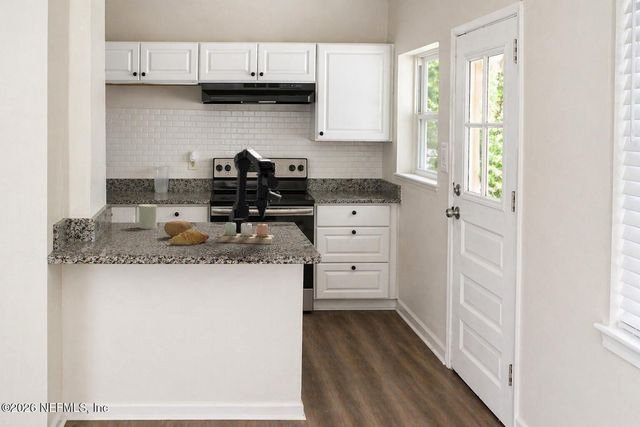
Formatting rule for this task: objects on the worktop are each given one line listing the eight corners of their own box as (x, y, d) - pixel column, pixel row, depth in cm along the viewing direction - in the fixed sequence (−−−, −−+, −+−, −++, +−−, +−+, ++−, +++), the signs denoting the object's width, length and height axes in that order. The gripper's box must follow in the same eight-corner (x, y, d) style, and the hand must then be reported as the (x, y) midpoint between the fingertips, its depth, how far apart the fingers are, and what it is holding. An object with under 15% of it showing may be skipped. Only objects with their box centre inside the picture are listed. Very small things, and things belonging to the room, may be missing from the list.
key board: (217, 241, 376) (218, 236, 375) (221, 238, 387) (222, 233, 386) (271, 243, 375) (271, 238, 374) (273, 240, 385) (273, 235, 385)
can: (160, 227, 413) (161, 204, 412) (147, 229, 405) (148, 205, 404) (147, 225, 418) (147, 202, 417) (134, 227, 410) (134, 204, 409)
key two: (240, 236, 378) (240, 224, 377) (241, 234, 383) (242, 222, 382) (250, 236, 378) (251, 224, 377) (252, 235, 383) (252, 223, 382)
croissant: (172, 253, 360) (176, 239, 357) (161, 240, 366) (166, 226, 362) (211, 248, 374) (216, 234, 371) (200, 236, 380) (205, 222, 377)
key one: (224, 235, 378) (224, 223, 378) (226, 233, 383) (226, 222, 382) (234, 235, 378) (235, 223, 377) (236, 234, 383) (236, 222, 382)
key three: (256, 236, 378) (256, 224, 377) (257, 235, 383) (257, 223, 382) (266, 237, 377) (267, 225, 377) (267, 235, 382) (268, 223, 382)
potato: (196, 237, 385) (196, 221, 384) (170, 239, 376) (170, 223, 375) (185, 234, 393) (185, 218, 392) (159, 236, 383) (160, 220, 382)
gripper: (278, 188, 367) (277, 222, 369) (282, 185, 386) (281, 217, 388) (254, 187, 368) (253, 221, 370) (259, 184, 386) (258, 216, 388)
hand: (262, 219), depth 379 cm, fingers closed
